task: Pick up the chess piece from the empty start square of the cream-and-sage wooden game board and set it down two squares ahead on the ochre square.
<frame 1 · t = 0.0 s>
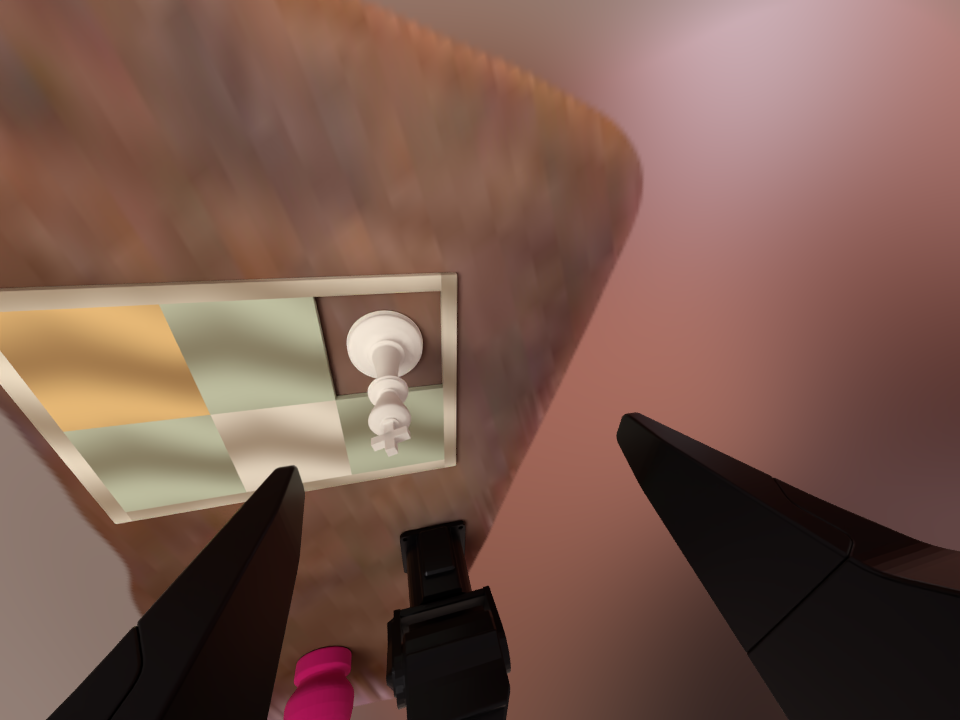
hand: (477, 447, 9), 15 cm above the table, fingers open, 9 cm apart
game board: (277, 402, 23), on the table
pepper mill: (324, 656, 42), on the table
chess piece: (385, 342, 23), resting in game board
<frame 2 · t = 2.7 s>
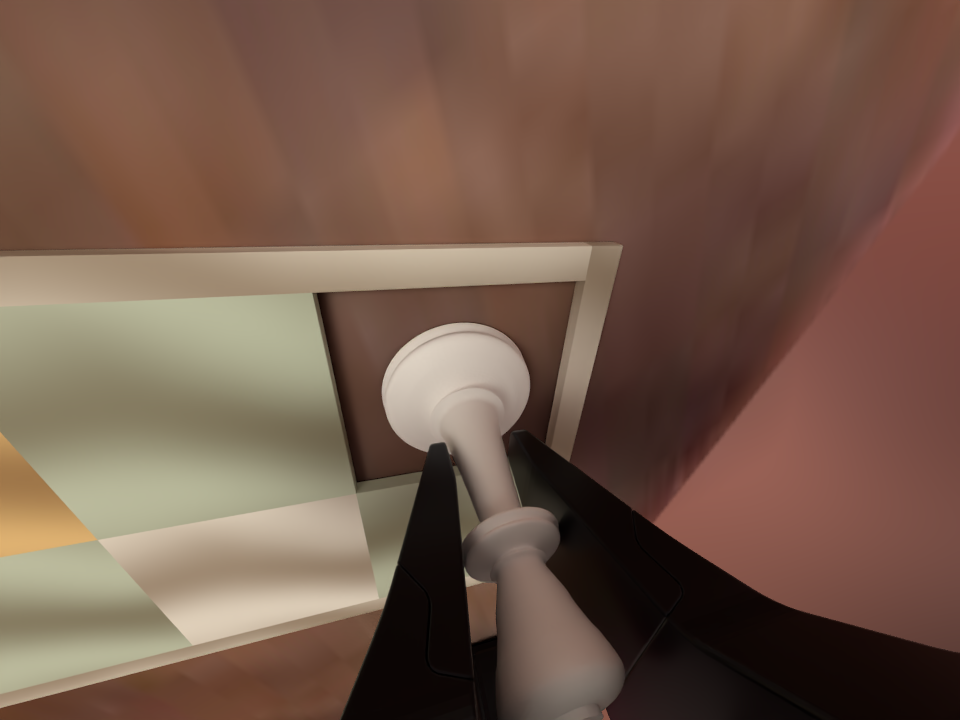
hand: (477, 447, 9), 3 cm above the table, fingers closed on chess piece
game board: (241, 502, 12), on the table
chess piece: (455, 384, 12), resting in game board, touching gripper
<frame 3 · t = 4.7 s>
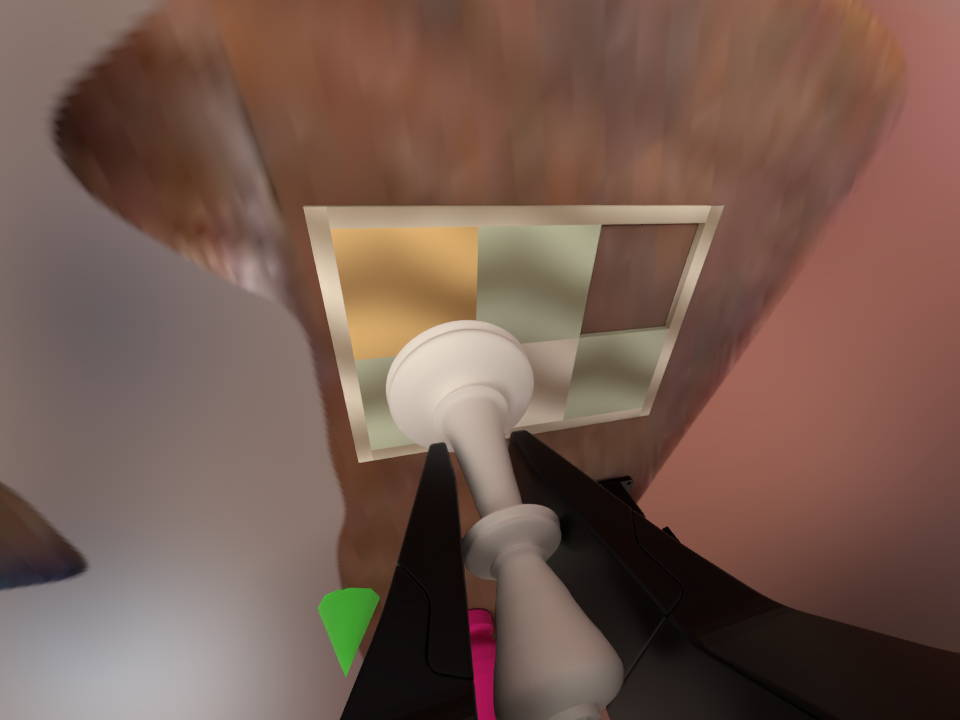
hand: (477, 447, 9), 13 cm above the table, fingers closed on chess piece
game board: (526, 339, 24), on the table
pepper mill: (465, 620, 43), on the table
chess piece: (459, 382, 12), point 10 cm above the table, touching gripper
gemstone: (350, 599, 35), on the table
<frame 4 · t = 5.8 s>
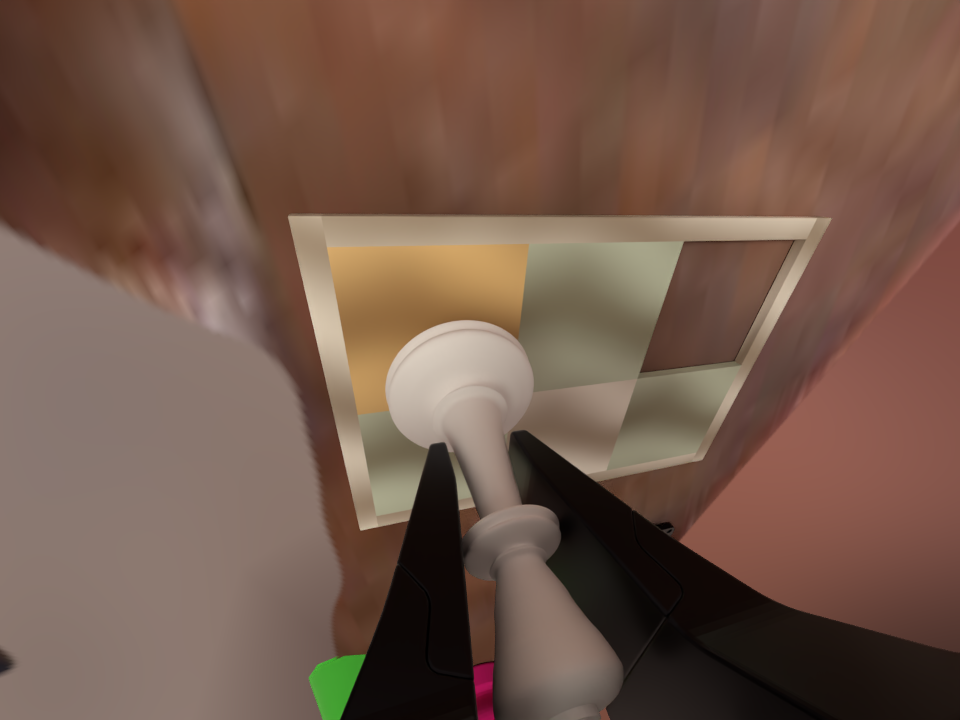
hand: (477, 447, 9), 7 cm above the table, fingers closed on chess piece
game board: (573, 381, 19), on the table
pepper mill: (475, 673, 38), on the table
chess piece: (459, 382, 12), point 4 cm above the table, touching gripper
gemstone: (346, 665, 30), on the table
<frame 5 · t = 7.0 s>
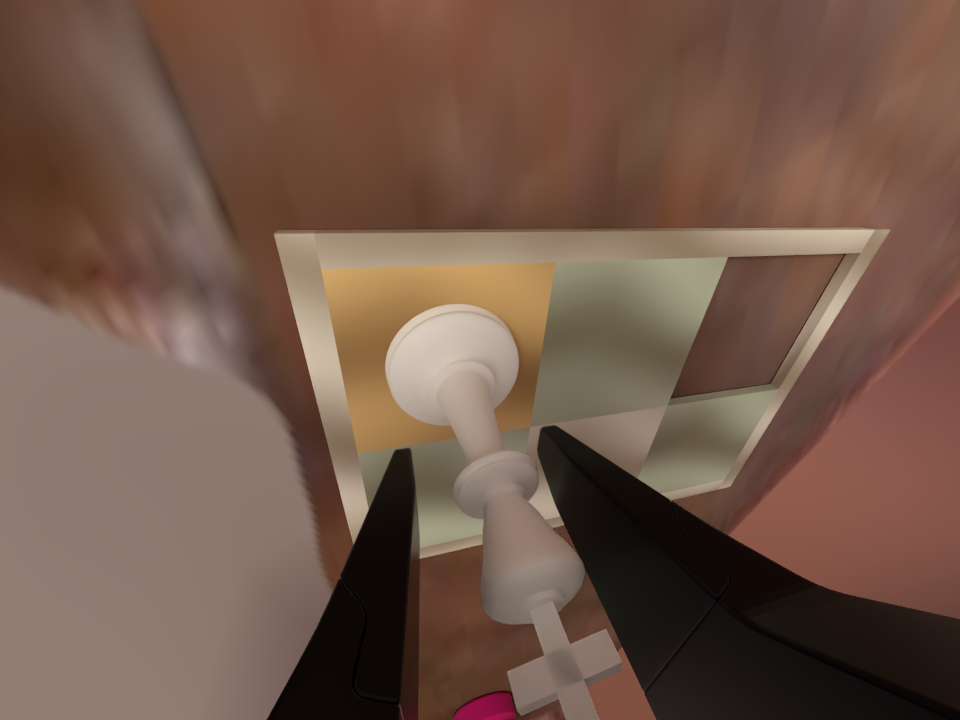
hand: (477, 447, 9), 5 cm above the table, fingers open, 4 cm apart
game board: (596, 409, 17), on the table
pepper mill: (482, 702, 36), on the table
chess piece: (452, 362, 13), resting on game board
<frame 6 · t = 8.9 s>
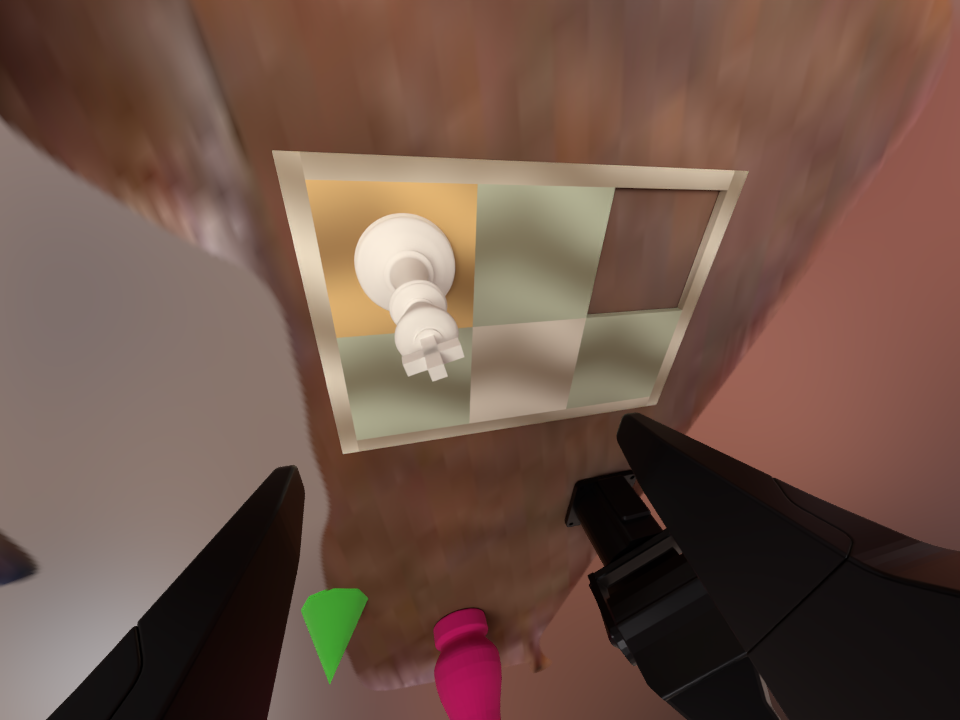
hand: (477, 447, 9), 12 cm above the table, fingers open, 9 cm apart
game board: (528, 318, 21), on the table
pepper mill: (458, 619, 41), on the table
chess piece: (405, 264, 17), resting on game board
gemstone: (336, 600, 33), on the table
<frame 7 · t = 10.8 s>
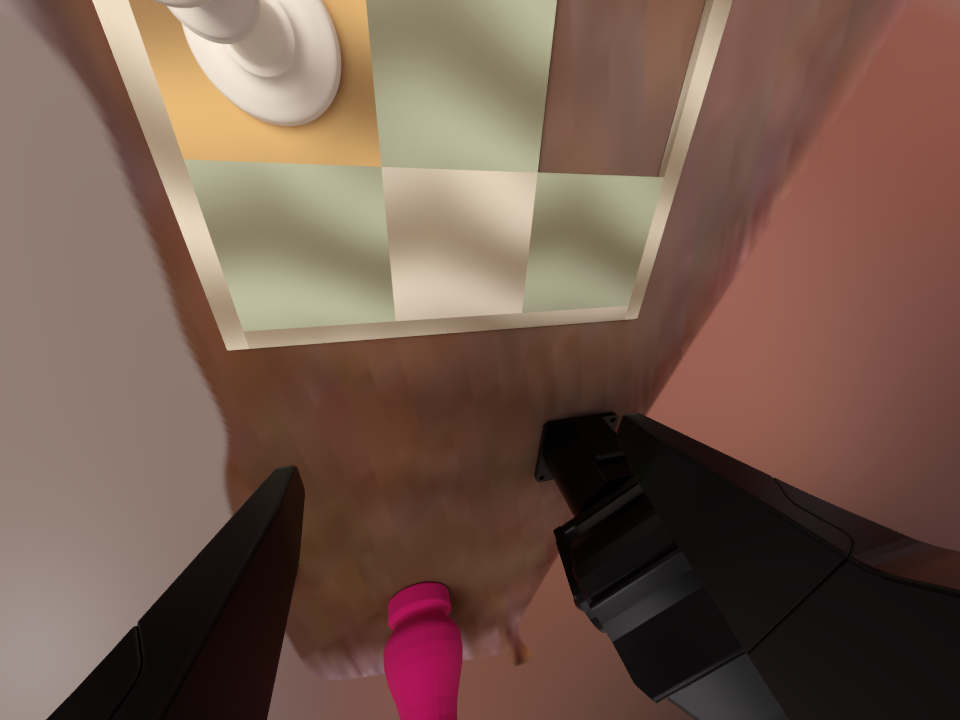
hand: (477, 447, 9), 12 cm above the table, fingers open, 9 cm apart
game board: (461, 169, 17), on the table
pepper mill: (418, 596, 36), on the table
chess piece: (269, 45, 13), resting on game board
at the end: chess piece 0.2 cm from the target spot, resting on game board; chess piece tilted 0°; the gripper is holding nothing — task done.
